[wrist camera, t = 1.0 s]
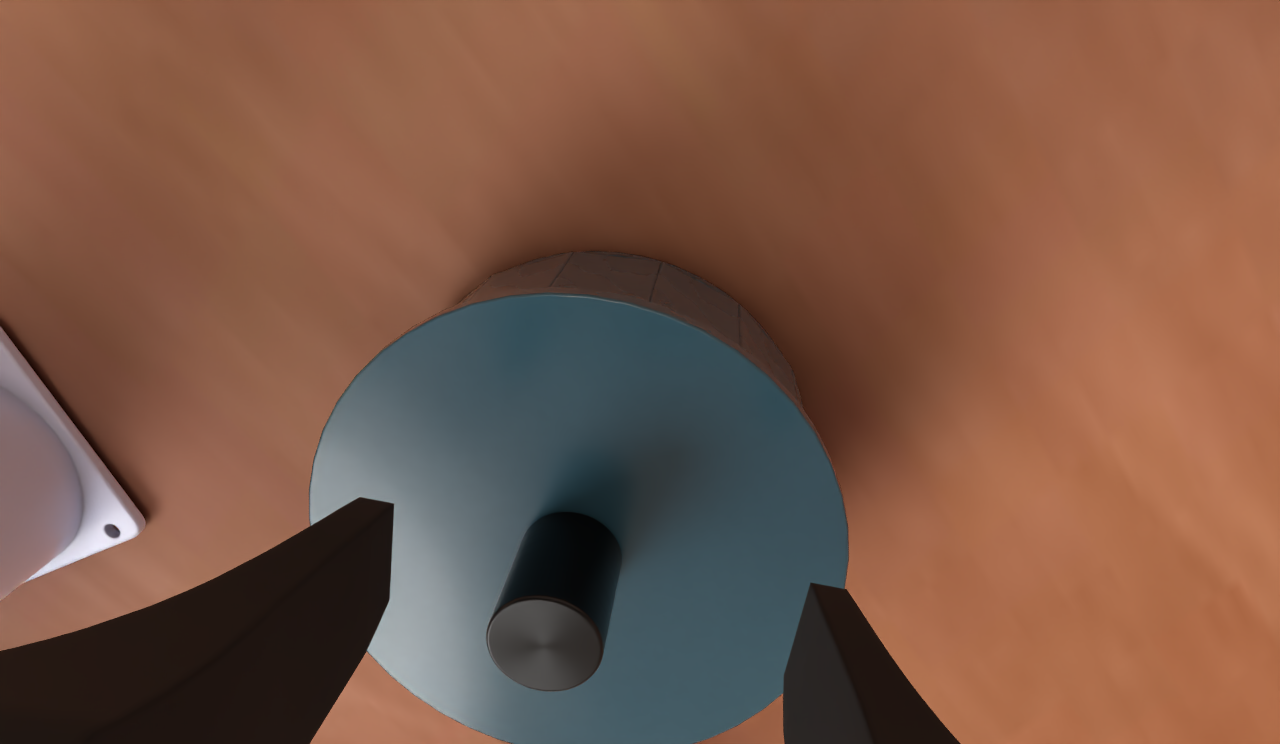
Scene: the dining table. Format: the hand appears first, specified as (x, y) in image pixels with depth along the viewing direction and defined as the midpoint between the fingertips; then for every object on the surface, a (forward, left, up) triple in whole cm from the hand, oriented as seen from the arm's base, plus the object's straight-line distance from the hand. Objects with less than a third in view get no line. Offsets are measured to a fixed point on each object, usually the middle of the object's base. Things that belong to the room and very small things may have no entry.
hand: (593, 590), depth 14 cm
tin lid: (-2, -2, -5) cm, 6 cm away
